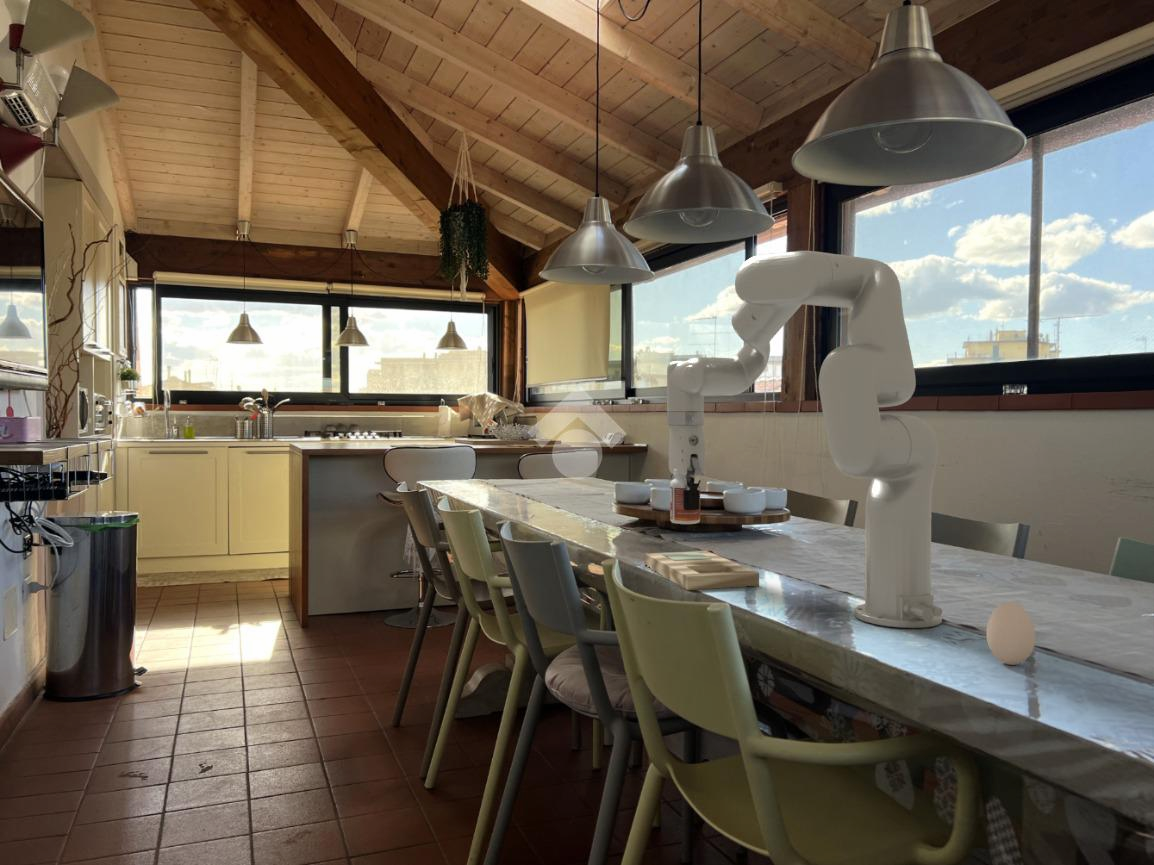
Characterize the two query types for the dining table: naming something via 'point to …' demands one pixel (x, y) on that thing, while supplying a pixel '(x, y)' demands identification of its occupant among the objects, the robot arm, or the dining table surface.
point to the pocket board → (700, 570)
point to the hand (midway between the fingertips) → (685, 507)
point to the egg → (1010, 633)
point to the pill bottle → (681, 503)
